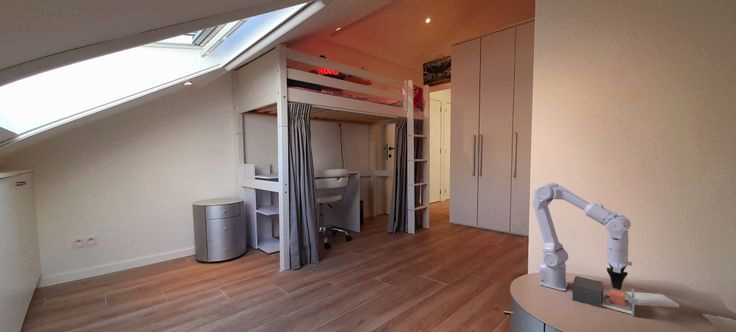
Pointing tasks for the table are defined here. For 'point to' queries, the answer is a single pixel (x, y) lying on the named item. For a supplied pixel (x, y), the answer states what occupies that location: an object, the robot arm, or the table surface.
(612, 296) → the block
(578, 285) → the player housing
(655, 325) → the table surface
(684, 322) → the table surface
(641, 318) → the table surface
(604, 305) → the tray
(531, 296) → the table surface
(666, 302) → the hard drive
